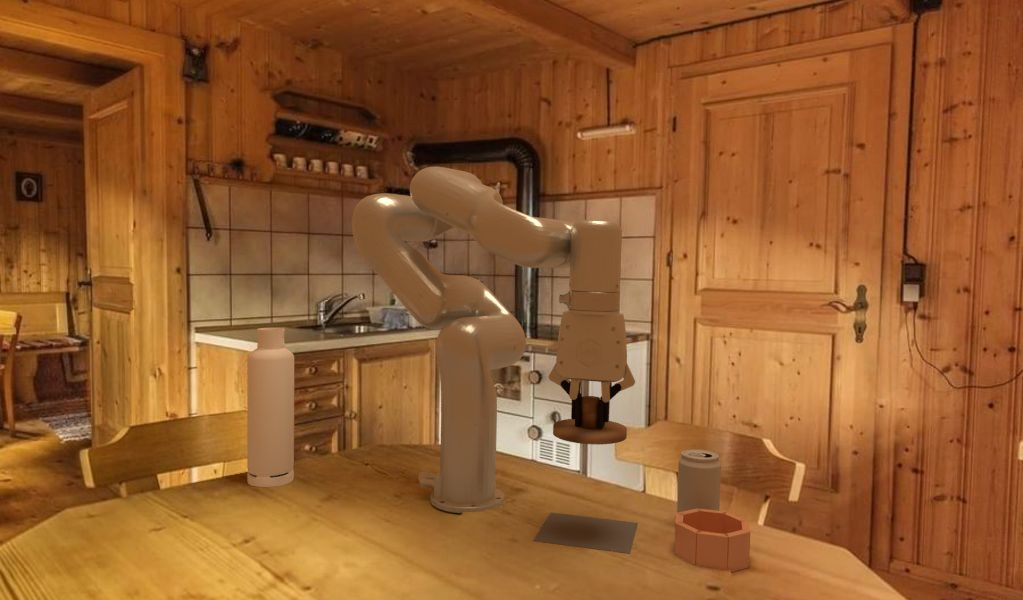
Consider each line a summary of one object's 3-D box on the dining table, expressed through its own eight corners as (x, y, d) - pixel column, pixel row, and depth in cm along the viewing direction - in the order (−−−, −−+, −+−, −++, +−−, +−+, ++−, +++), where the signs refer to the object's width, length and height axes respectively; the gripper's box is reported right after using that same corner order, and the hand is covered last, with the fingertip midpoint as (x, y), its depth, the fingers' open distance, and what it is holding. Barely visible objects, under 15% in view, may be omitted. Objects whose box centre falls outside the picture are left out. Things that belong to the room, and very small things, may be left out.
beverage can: (720, 539, 105) (723, 460, 104) (676, 534, 106) (679, 457, 105) (716, 523, 111) (719, 449, 110) (675, 519, 112) (678, 446, 111)
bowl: (673, 566, 95) (674, 530, 94) (676, 538, 104) (677, 506, 104) (750, 576, 92) (751, 539, 92) (745, 547, 102) (747, 513, 101)
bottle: (285, 487, 124) (285, 331, 122) (240, 486, 124) (240, 330, 122) (299, 473, 132) (300, 327, 130) (257, 472, 132) (257, 326, 130)
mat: (533, 544, 101) (533, 540, 101) (550, 515, 113) (550, 512, 113) (629, 557, 97) (629, 553, 97) (637, 526, 109) (637, 522, 109)
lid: (545, 440, 100) (546, 401, 100) (560, 423, 111) (562, 388, 111) (622, 447, 97) (623, 408, 97) (630, 429, 108) (631, 393, 108)
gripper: (534, 302, 102) (531, 426, 103) (647, 307, 97) (642, 436, 98) (546, 300, 109) (542, 415, 110) (651, 304, 104) (646, 424, 106)
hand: (589, 424), depth 104 cm, fingers closed on lid, 2 cm apart
